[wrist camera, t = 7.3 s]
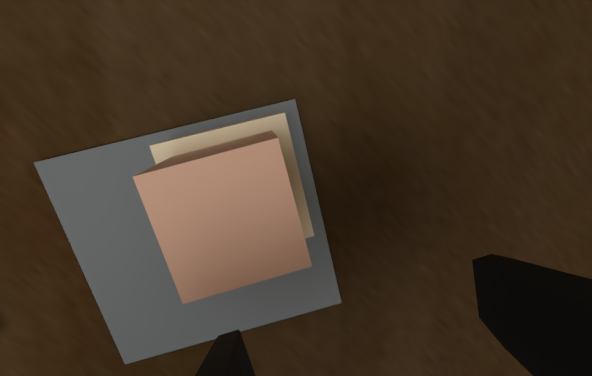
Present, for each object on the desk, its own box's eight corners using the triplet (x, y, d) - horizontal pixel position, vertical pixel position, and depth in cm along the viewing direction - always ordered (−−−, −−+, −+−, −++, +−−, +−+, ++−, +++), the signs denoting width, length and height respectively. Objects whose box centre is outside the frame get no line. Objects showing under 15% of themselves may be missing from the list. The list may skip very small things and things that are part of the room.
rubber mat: (339, 298, 21) (341, 302, 21) (128, 358, 20) (125, 364, 20) (294, 99, 18) (295, 99, 17) (40, 161, 17) (33, 162, 17)
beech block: (304, 213, 19) (314, 235, 16) (204, 240, 19) (192, 268, 15) (279, 112, 17) (285, 112, 14) (170, 139, 17) (149, 145, 14)
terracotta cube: (296, 222, 15) (312, 266, 11) (204, 248, 15) (183, 303, 11) (271, 130, 14) (278, 137, 10) (171, 156, 14) (132, 176, 10)
